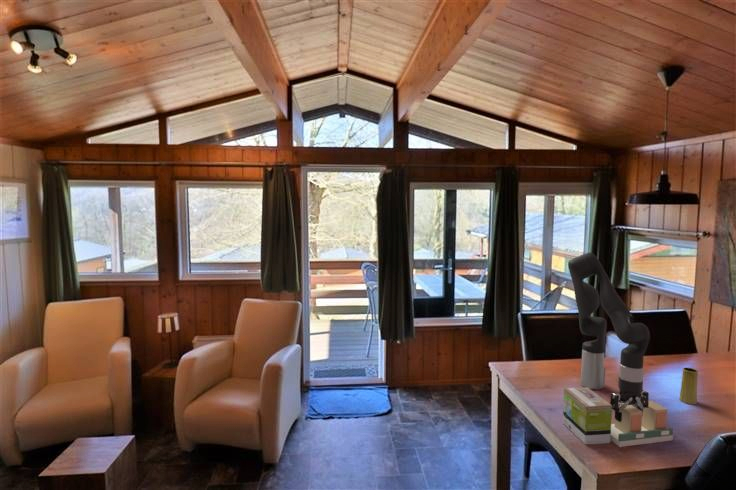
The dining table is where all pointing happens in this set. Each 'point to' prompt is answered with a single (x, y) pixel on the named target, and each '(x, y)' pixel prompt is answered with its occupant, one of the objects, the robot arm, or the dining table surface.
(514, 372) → the dining table surface
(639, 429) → the carton
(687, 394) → the vase
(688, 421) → the dining table surface
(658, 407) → the faced carton
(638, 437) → the white flat slab
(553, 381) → the dining table surface
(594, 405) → the tea box
